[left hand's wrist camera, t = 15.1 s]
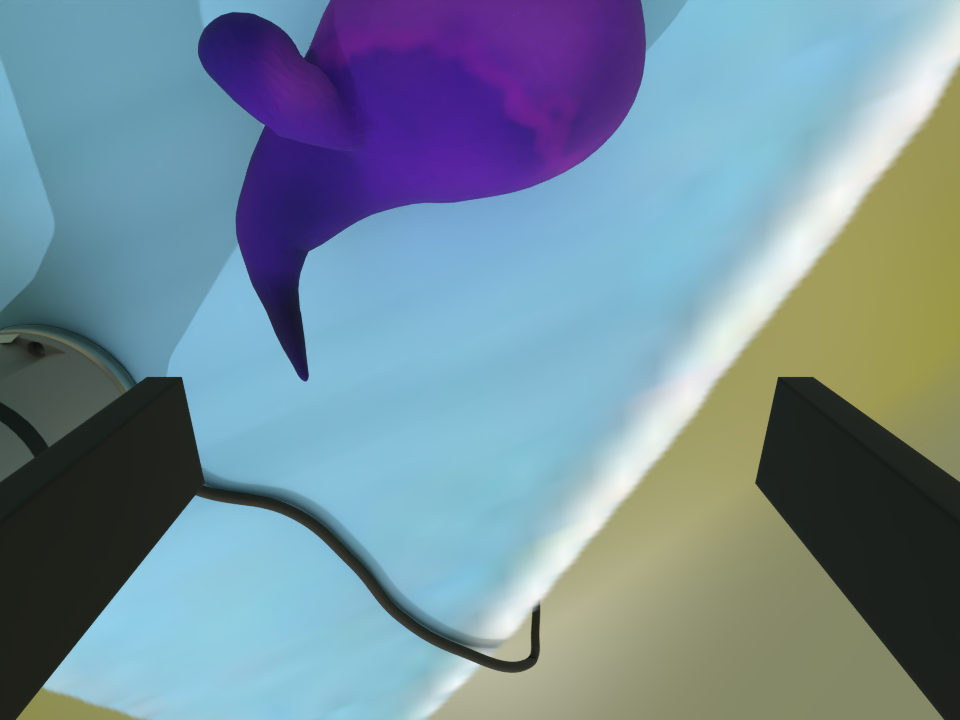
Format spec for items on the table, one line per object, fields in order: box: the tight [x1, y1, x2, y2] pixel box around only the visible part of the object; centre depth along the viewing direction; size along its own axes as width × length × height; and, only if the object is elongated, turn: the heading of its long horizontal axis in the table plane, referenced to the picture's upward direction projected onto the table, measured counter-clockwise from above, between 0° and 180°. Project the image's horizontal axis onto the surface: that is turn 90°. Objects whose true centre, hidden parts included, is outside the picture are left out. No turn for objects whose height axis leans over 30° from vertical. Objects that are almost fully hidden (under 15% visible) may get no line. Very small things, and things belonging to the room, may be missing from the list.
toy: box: [198, 0, 646, 381], centre depth 32 cm, size 16×18×27 cm
